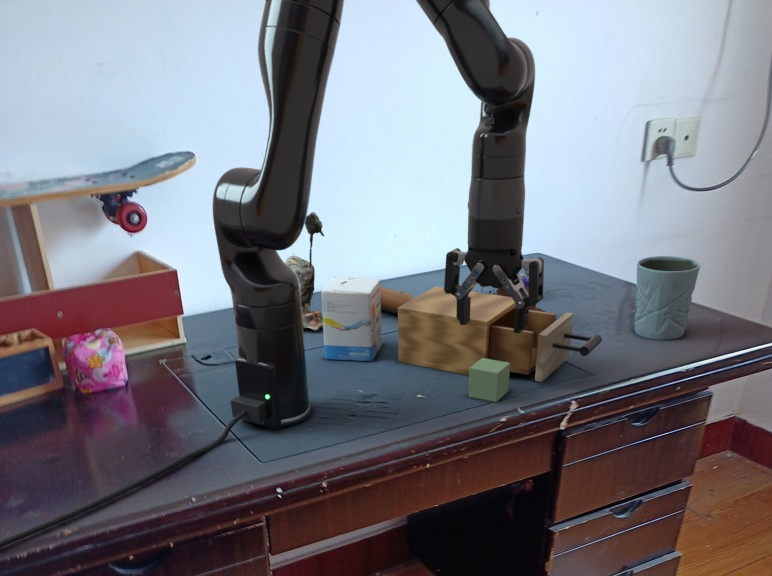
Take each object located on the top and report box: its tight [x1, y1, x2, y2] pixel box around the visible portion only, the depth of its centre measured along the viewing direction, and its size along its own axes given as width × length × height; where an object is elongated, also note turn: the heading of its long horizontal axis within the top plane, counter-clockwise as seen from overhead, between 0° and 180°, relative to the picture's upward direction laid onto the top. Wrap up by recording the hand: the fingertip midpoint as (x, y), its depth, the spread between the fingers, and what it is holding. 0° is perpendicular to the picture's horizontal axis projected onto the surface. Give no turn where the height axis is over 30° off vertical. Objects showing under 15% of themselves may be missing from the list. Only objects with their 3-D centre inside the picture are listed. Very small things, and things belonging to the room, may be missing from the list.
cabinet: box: [397, 286, 517, 376], centre depth 136 cm, size 16×13×9 cm
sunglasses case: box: [380, 285, 415, 315], centre depth 159 cm, size 18×7×7 cm
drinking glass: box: [634, 255, 701, 341], centre depth 143 cm, size 10×10×12 cm
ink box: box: [320, 276, 383, 362], centre depth 139 cm, size 9×8×12 cm
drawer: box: [488, 308, 603, 382], centre depth 131 cm, size 20×12×7 cm, turn 59°
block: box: [467, 358, 510, 403], centre depth 124 cm, size 5×5×5 cm
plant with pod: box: [284, 211, 325, 331], centre depth 149 cm, size 8×11×20 cm
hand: (491, 327), depth 120 cm, fingers open, 8 cm apart
